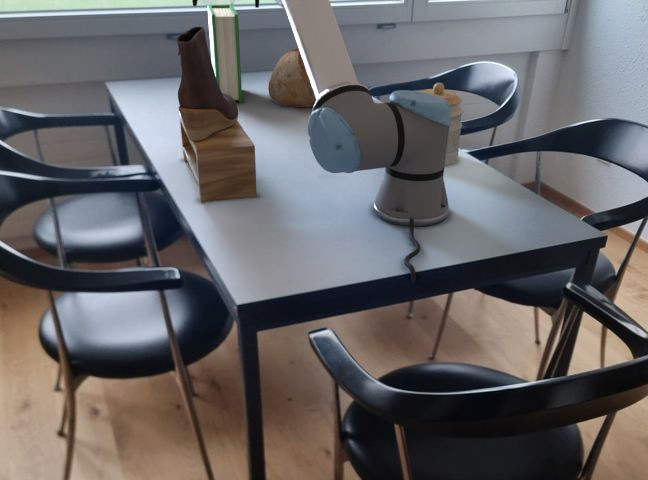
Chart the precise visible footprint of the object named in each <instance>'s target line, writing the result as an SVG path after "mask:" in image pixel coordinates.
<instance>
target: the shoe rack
mask: <svg viewBox="0 0 648 480" xmlns="http://www.w3.org/2000/svg"><path fill="white" fill-rule="evenodd" d="M178 117H179V128H180V138H181V146H182V147H181V148H182V149H181V150H182V157H183V161H184V162H187V164H188V165H189V168H190V170H191V173H192V175H193V178H194V180H195V182H196V184H197V187H198V191H199V200H200V203H206V202H216V201H217V202H218V201H228V200H239V199H249V198H250V199H251V198H258V191H257V190H258V189H257V165H256V145H255V144H254V142H253V141H252V139H251V138H250V137H249V135H248V134H247V132H246V131H245V130H244V128H243V126H242V125H241V123H240V122H239V121H238V120H237V121H236V123H235V124H234V125H233V126H231V127H229V128H226V129H222V130H219V131H217V132H215V133H213V134H211V135H210V136H209V137H207V138H206V139H204V140H202V141H198V142H196V141H191V140H190V139H189V138H188V135H187V132H186V129H185V126H184V123H183V120H182V117H181V115H180V112H179V111H178Z"/></svg>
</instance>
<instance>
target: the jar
mask: <svg viewBox="0 0 648 480" xmlns="http://www.w3.org/2000/svg"><path fill="white" fill-rule="evenodd" d="M420 92H423V93H427V94H431V95H435V96H438V97H440V98H442V99H444V100H446V101H447V102H448V103H449V105H450V109H451V114H450V124H451V126H450V127H449V134H448V142H447V150H446V158H445V166H448V165H452V164H454V163H455V162H457V158H458V156H459V152H460V150H459V146H460V139H461V131H462V128H463V123H462V121H461V120H462V115H463V114H464V113H465V109H464V107H463V106H461V105H460V104H461V103H462V101H463V99H462V97H460V96H459V95H458V94H457V93H456V92H455V91H453V90H449V89H445V85H444V83H442V82H436V83H434V85H433V87H432V88H427V89H423V90H421V91H420Z"/></svg>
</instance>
